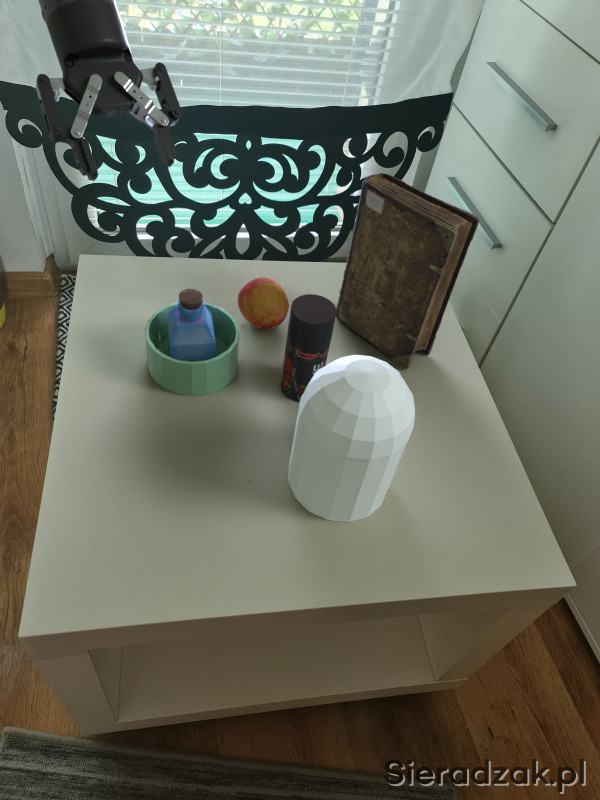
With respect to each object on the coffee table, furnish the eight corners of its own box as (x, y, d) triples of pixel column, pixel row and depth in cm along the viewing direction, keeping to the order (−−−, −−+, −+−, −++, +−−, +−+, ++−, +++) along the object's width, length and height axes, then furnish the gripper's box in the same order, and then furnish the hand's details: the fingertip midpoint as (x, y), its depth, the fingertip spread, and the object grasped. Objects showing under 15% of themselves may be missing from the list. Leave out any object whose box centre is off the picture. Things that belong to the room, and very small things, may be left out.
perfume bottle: (210, 344, 93) (211, 280, 85) (215, 373, 89) (216, 310, 81) (169, 346, 92) (165, 282, 83) (171, 376, 88) (168, 312, 79)
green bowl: (170, 407, 85) (168, 375, 80) (134, 348, 92) (130, 315, 87) (252, 378, 91) (255, 346, 86) (213, 324, 97) (213, 292, 93)
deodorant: (295, 366, 93) (308, 288, 82) (327, 386, 91) (345, 308, 80) (272, 388, 90) (281, 309, 79) (304, 408, 88) (319, 330, 77)
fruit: (278, 302, 103) (283, 263, 97) (292, 335, 98) (298, 295, 92) (232, 308, 100) (234, 268, 95) (245, 341, 96) (247, 301, 90)
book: (329, 315, 102) (357, 175, 84) (358, 299, 106) (391, 162, 87) (403, 374, 95) (452, 235, 76) (432, 355, 99) (485, 218, 80)
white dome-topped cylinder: (409, 496, 80) (455, 393, 65) (324, 540, 74) (354, 439, 59) (349, 424, 87) (379, 317, 72) (268, 460, 81) (282, 350, 66)
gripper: (12, -2, 58) (71, 171, 60) (155, -8, 64) (203, 149, 66) (9, 39, 65) (63, 193, 67) (139, 30, 71) (183, 171, 73)
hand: (132, 171), depth 67 cm, fingers open, 8 cm apart
